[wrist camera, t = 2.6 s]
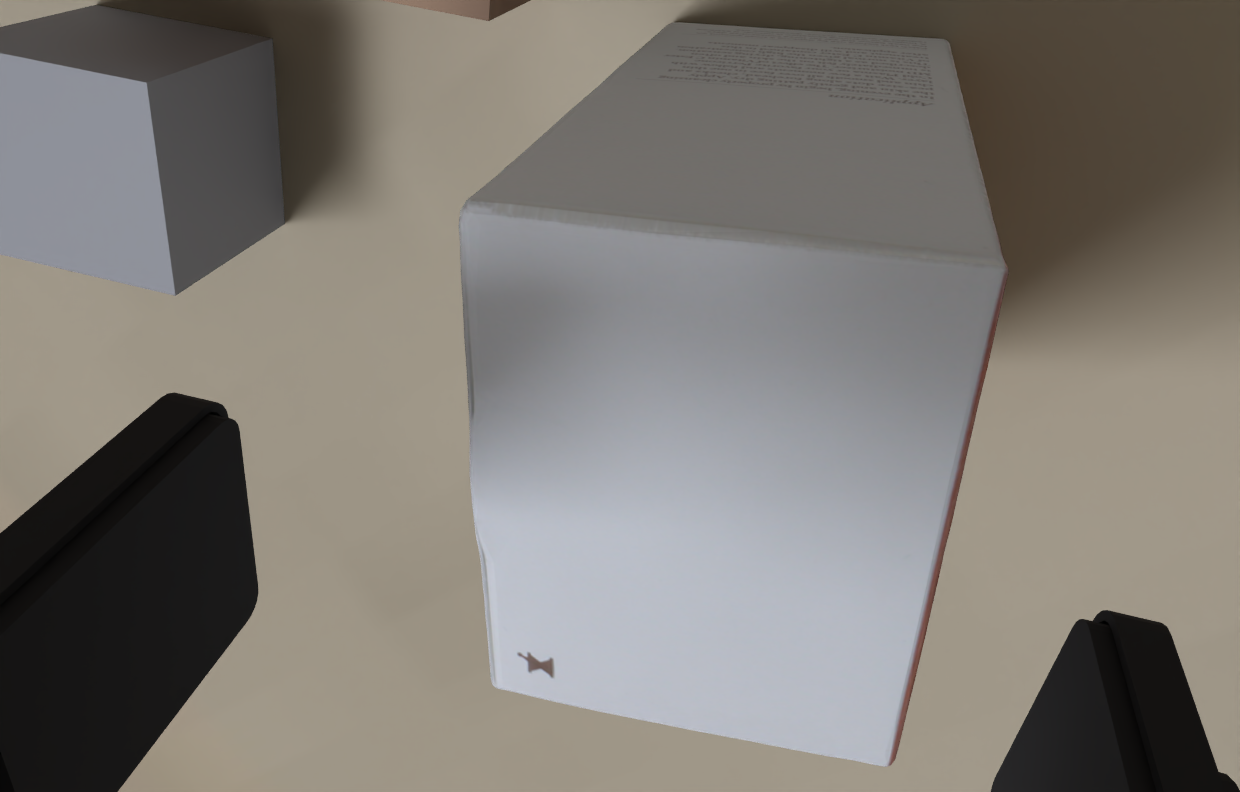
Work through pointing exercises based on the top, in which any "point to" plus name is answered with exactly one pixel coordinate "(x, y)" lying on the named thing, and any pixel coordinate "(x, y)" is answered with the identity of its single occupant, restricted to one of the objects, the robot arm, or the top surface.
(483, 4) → the walnut block
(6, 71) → the slate-grey cube
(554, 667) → the small box
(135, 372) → the top surface
